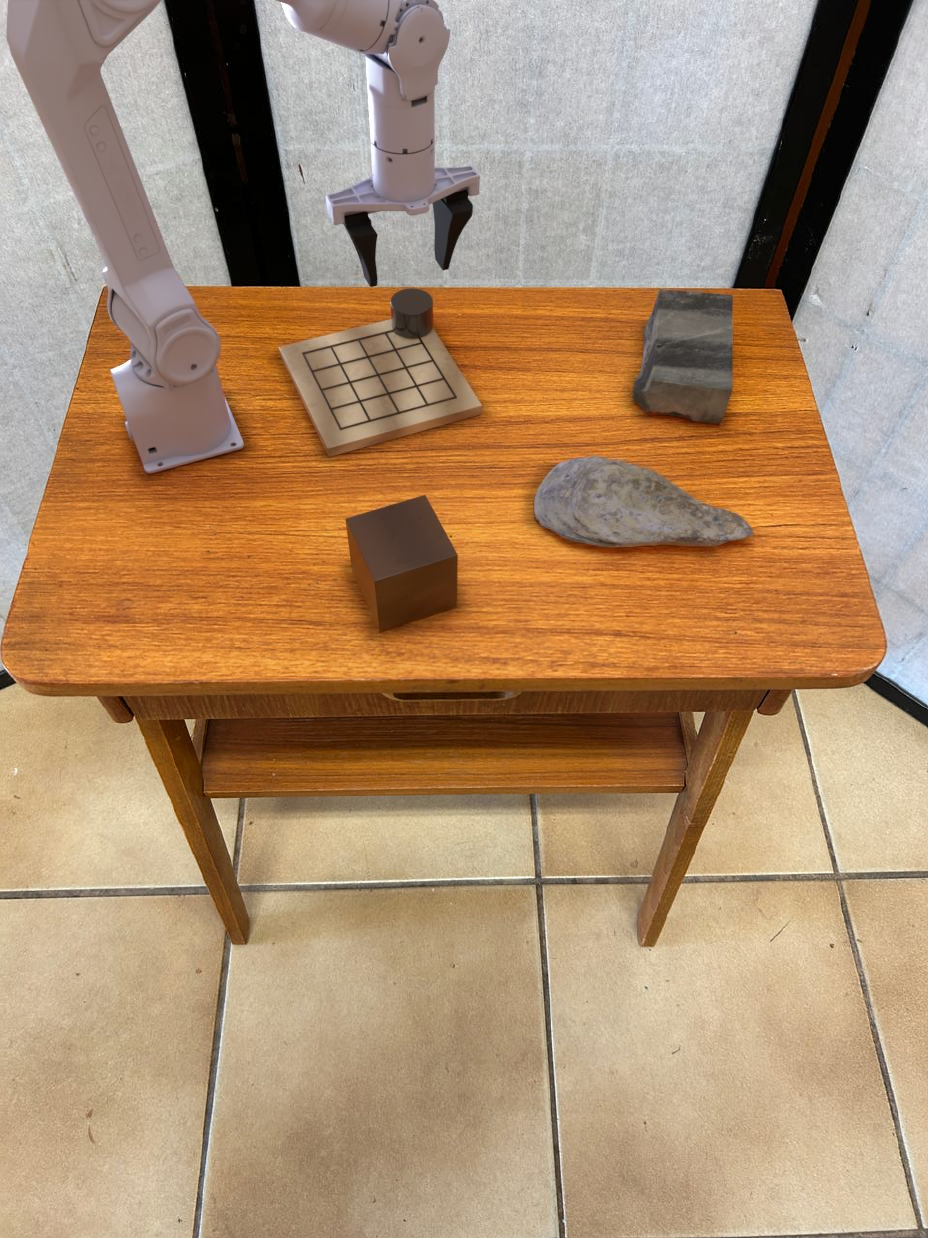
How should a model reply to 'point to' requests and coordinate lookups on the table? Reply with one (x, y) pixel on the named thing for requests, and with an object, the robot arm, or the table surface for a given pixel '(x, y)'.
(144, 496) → the table surface
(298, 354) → the grid board
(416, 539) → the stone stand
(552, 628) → the table surface
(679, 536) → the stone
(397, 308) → the black cylinder
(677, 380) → the stone block
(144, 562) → the table surface
